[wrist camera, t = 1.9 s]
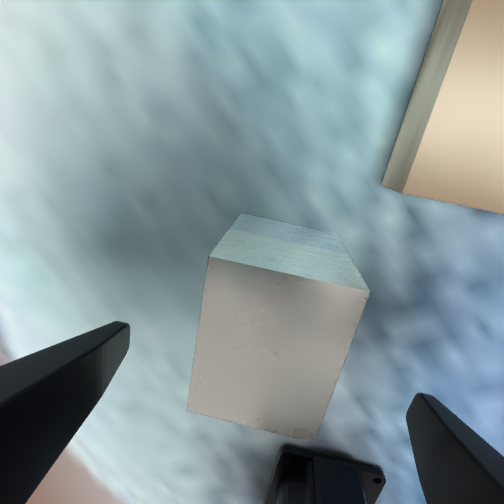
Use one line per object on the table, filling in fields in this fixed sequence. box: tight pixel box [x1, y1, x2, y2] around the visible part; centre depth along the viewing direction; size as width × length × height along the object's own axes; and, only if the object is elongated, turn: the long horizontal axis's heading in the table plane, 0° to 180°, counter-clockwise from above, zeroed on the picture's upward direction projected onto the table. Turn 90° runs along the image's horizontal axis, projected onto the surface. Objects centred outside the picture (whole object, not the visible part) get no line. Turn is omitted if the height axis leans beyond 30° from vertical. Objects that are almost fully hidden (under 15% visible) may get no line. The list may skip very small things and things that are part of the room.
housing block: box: [186, 213, 370, 442], centre depth 12 cm, size 6×5×6 cm
